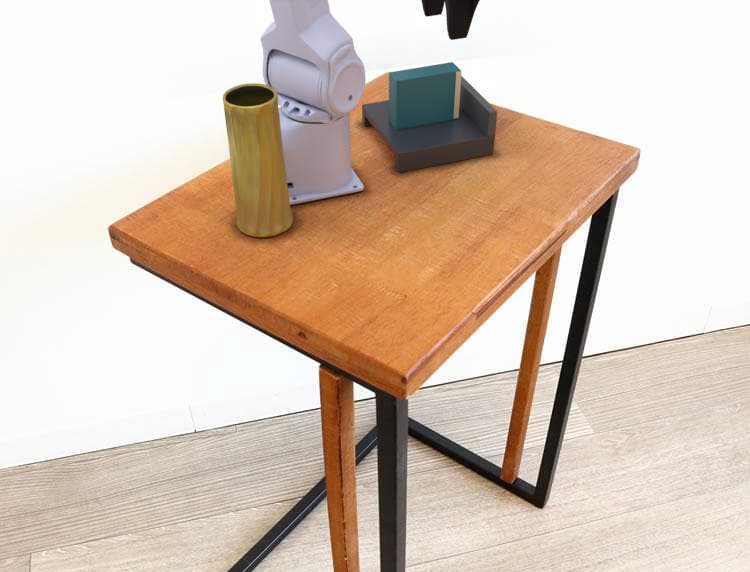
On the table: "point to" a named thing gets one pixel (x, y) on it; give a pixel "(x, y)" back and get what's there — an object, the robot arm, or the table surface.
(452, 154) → the grey corner tray
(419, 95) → the book
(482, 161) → the table surface
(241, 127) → the vase
